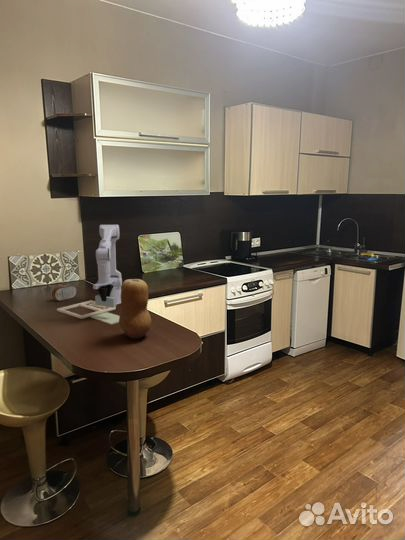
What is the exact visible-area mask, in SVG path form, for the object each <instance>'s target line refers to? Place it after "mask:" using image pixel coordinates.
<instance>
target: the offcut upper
mask: <svg viewBox="0 0 405 540" xmlns="http://www.w3.org/2000/svg"><path fill="white" fill-rule="evenodd" d="M88 306H92V307H95V308H99V309H107V307H106V306H100V305H95V303H89V304H88Z"/></svg>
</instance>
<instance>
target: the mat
mask: <svg viewBox="0 0 405 540" xmlns="http://www.w3.org/2000/svg"><path fill="white" fill-rule="evenodd" d="M119 317H120V315H118V314H115V313H111V312H109V311H107V312H103V313H100V314H96V315H93V316H90V318H91V319H94V320H98V321H100V322H102V323H105V324H108V325H115V324H118V323H119Z"/></svg>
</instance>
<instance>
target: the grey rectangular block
mask: <svg viewBox="0 0 405 540" xmlns="http://www.w3.org/2000/svg"><path fill="white" fill-rule="evenodd" d="M94 301H95V305H100V306H107V307H113V308H114V307H117V304H116V298H114V297H107V296H106V301H102V300H101V297H100V294H98V295H95V297H94ZM107 307H106V308H107Z"/></svg>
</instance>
